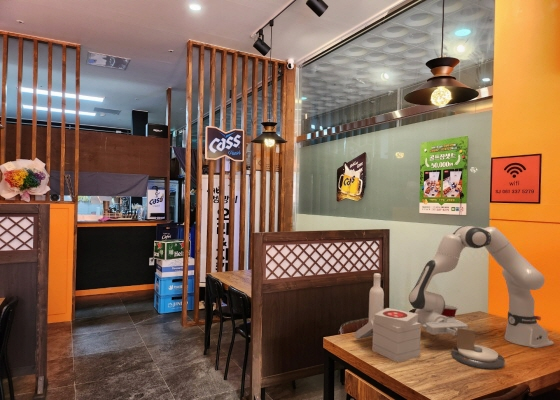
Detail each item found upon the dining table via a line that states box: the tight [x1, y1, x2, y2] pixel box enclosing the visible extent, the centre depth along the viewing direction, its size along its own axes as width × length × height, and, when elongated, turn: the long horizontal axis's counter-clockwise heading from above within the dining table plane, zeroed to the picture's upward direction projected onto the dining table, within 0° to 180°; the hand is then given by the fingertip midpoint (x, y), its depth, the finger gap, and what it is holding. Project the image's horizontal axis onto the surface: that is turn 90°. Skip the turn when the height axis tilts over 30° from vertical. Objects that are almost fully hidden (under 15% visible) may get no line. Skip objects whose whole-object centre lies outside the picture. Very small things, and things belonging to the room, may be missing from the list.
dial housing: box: [451, 346, 506, 371], centre depth 171 cm, size 21×21×2 cm
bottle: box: [368, 272, 385, 322], centre depth 210 cm, size 8×8×30 cm
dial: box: [456, 328, 499, 362], centre depth 171 cm, size 16×16×10 cm
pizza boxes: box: [353, 307, 422, 363], centre depth 180 cm, size 19×30×18 cm, turn 31°
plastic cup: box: [442, 304, 459, 319], centre depth 216 cm, size 11×11×12 cm
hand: (457, 333), depth 177 cm, fingers closed
